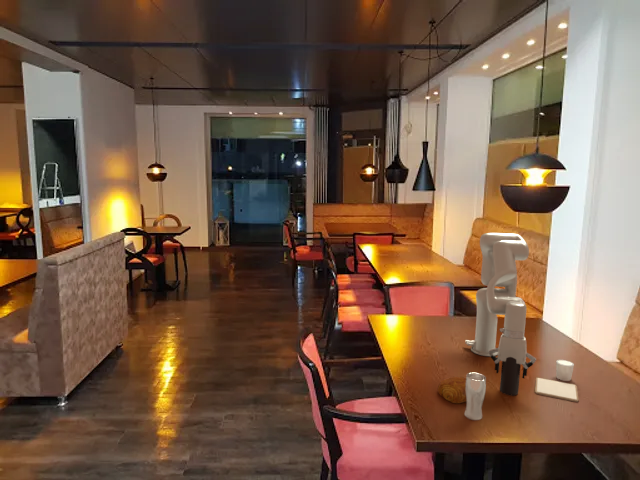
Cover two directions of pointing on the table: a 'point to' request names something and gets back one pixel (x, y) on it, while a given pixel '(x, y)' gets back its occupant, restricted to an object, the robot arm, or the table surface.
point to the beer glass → (474, 395)
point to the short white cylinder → (564, 370)
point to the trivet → (556, 389)
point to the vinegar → (510, 377)
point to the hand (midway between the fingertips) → (510, 374)
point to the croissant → (453, 389)
